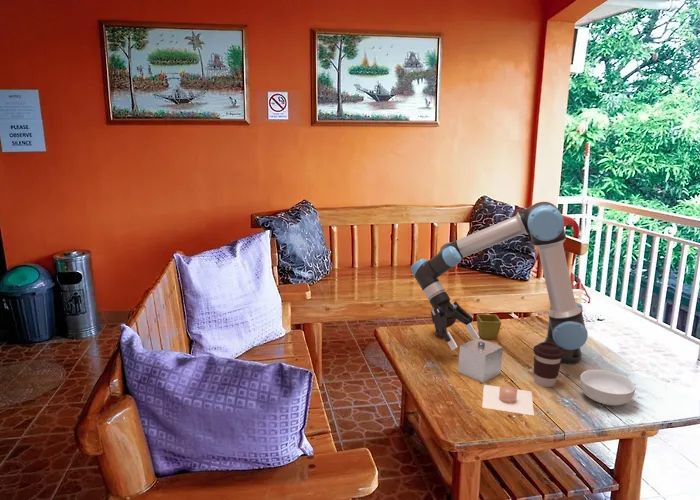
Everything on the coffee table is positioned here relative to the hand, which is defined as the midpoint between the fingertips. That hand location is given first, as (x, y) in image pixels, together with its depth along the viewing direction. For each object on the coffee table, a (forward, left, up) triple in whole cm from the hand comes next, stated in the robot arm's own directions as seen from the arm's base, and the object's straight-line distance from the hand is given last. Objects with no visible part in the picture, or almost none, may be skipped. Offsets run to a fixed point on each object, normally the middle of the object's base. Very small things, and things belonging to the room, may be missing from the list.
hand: (466, 344), depth 193 cm
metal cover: (-6, +3, -10) cm, 12 cm away
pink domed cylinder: (-16, +20, -9) cm, 27 cm away
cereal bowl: (-48, +8, -11) cm, 49 cm away
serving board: (-16, +20, -10) cm, 27 cm away
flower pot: (-8, -35, -11) cm, 38 cm away
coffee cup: (-29, +3, -11) cm, 31 cm away
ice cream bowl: (+11, -30, -11) cm, 34 cm away
